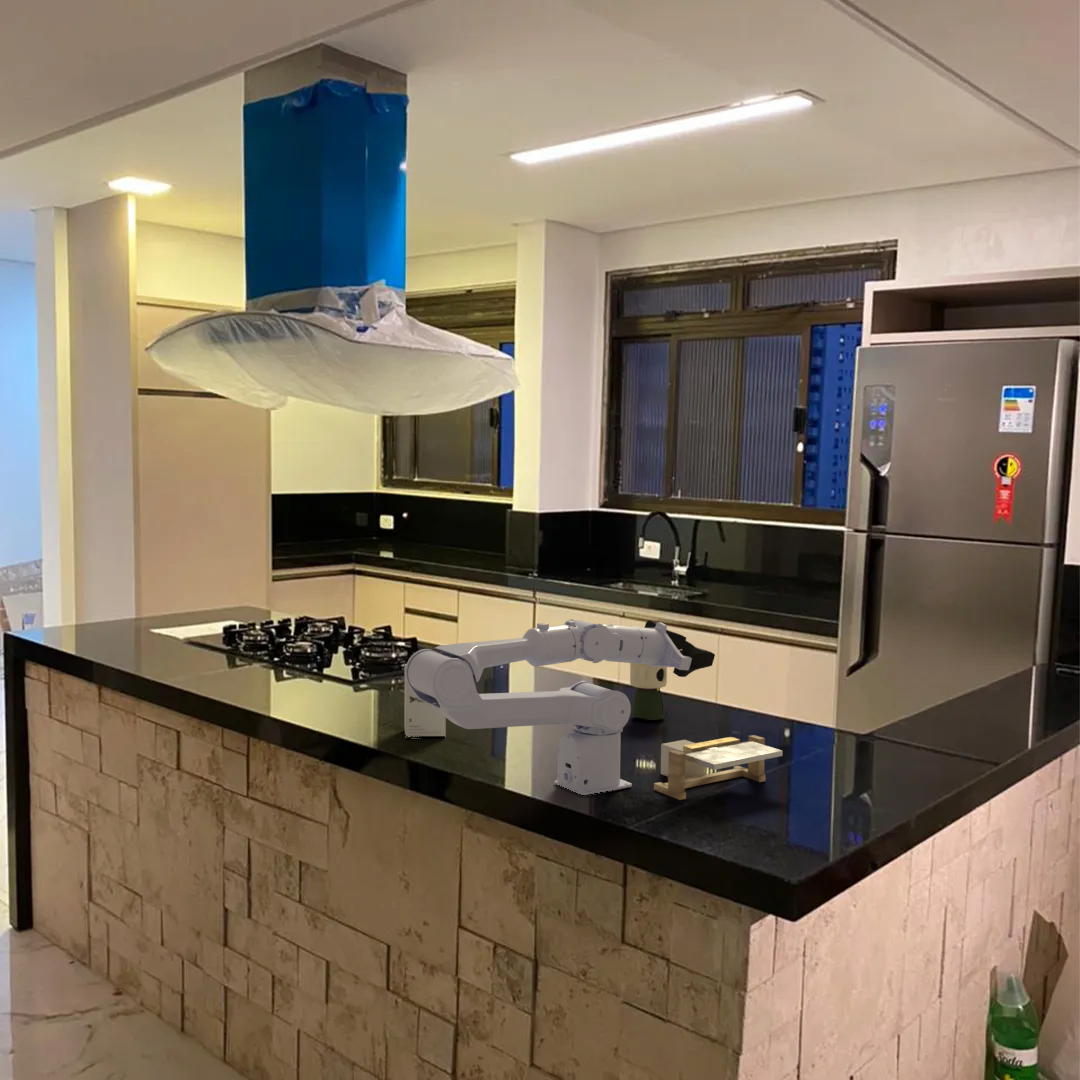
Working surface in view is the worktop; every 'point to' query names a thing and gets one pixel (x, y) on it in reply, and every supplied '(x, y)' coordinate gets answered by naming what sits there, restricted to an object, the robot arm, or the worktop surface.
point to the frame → (679, 782)
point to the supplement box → (421, 717)
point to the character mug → (648, 690)
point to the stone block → (690, 767)
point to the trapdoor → (728, 752)
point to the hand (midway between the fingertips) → (697, 650)
